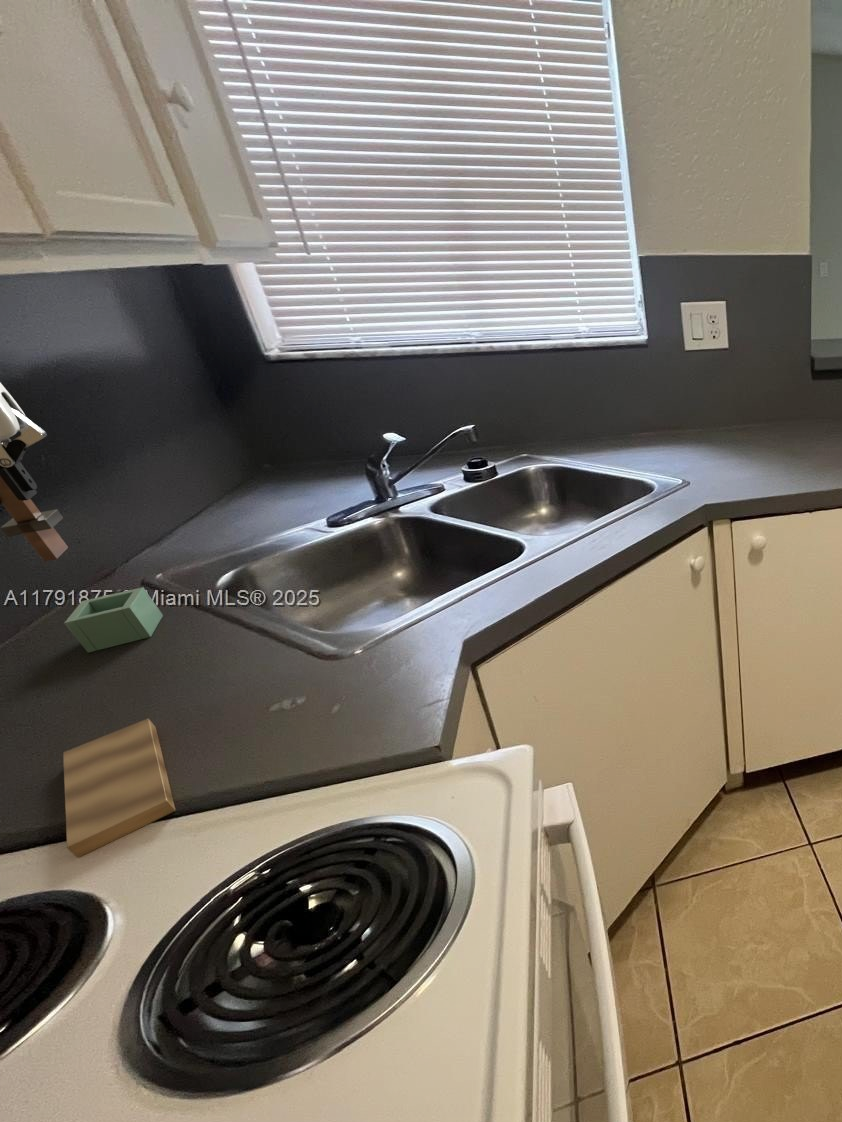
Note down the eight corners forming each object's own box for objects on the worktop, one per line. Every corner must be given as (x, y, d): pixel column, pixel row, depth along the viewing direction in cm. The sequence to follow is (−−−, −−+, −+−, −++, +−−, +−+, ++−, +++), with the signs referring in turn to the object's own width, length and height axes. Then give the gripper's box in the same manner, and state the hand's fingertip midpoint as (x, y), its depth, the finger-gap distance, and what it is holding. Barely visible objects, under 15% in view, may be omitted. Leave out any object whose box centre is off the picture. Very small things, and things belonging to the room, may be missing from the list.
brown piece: (28, 565, 77) (-52, 463, 70) (41, 553, 80) (-35, 454, 73) (72, 556, 79) (-3, 455, 72) (83, 544, 82) (12, 447, 75)
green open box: (87, 653, 86) (63, 623, 84) (103, 630, 91) (81, 600, 89) (151, 637, 89) (129, 607, 86) (163, 615, 94) (143, 586, 92)
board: (72, 762, 68) (62, 752, 67) (156, 727, 72) (148, 718, 71) (77, 858, 57) (66, 847, 56) (176, 811, 61) (167, 800, 60)
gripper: (-252, 351, 60) (-97, 527, 69) (-20, 330, 66) (92, 493, 76) (-200, 342, 65) (-64, 506, 75) (9, 323, 72) (110, 476, 82)
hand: (14, 498), depth 75 cm, fingers closed on brown piece
